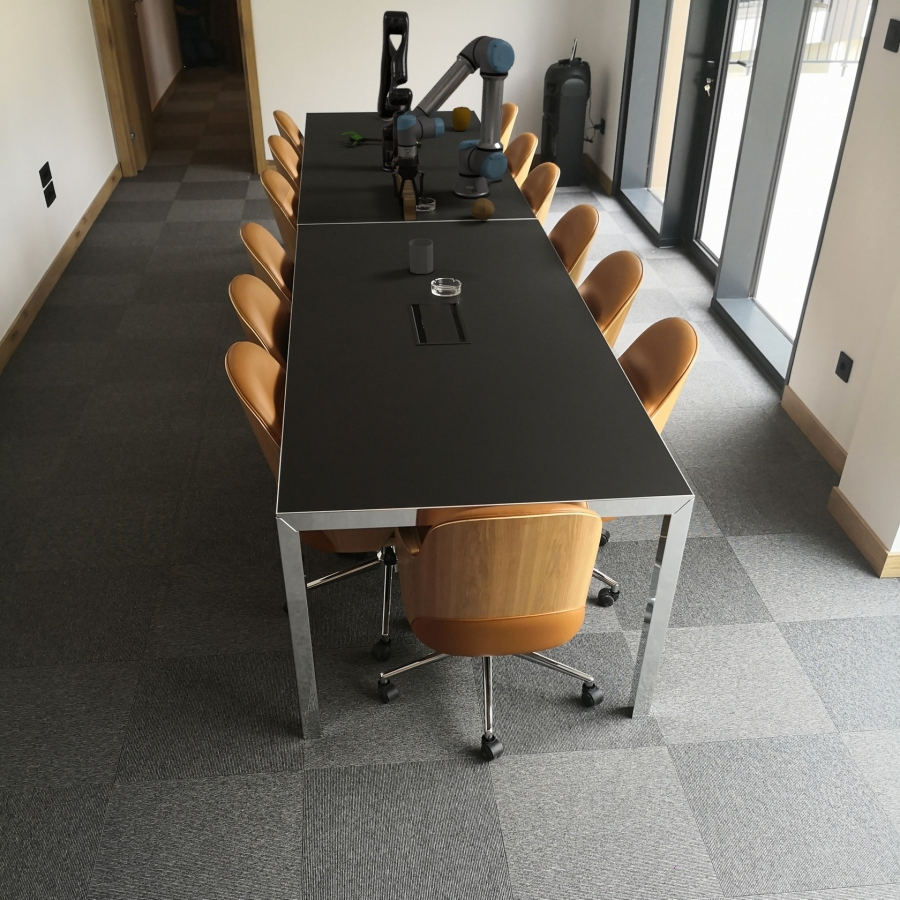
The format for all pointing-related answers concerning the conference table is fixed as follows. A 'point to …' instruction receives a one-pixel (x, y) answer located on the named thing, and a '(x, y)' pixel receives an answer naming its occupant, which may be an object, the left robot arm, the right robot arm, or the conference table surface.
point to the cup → (421, 256)
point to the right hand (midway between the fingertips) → (409, 213)
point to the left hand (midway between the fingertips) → (402, 174)
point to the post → (407, 199)
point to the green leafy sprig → (358, 139)
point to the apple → (461, 118)
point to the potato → (482, 209)
